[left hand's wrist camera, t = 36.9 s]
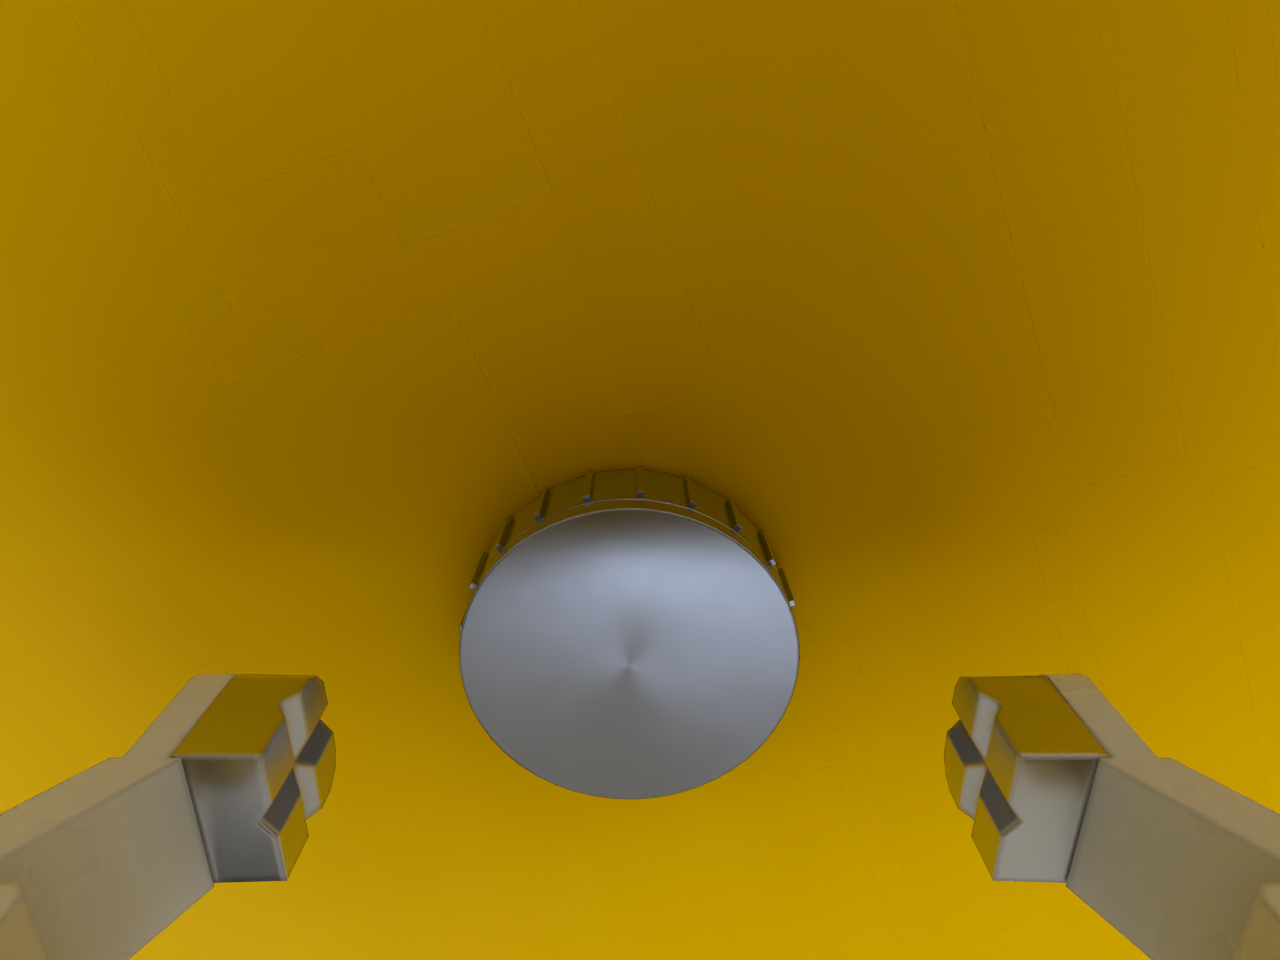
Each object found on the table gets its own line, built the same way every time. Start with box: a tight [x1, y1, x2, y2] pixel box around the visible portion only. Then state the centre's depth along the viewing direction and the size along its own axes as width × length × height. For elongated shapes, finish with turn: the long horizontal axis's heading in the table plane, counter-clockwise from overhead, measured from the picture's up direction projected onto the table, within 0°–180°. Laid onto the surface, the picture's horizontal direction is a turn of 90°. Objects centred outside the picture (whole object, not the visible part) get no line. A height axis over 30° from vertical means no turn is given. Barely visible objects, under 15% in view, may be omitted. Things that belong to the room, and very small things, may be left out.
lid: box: [459, 466, 800, 799], centre depth 13 cm, size 5×5×2 cm
